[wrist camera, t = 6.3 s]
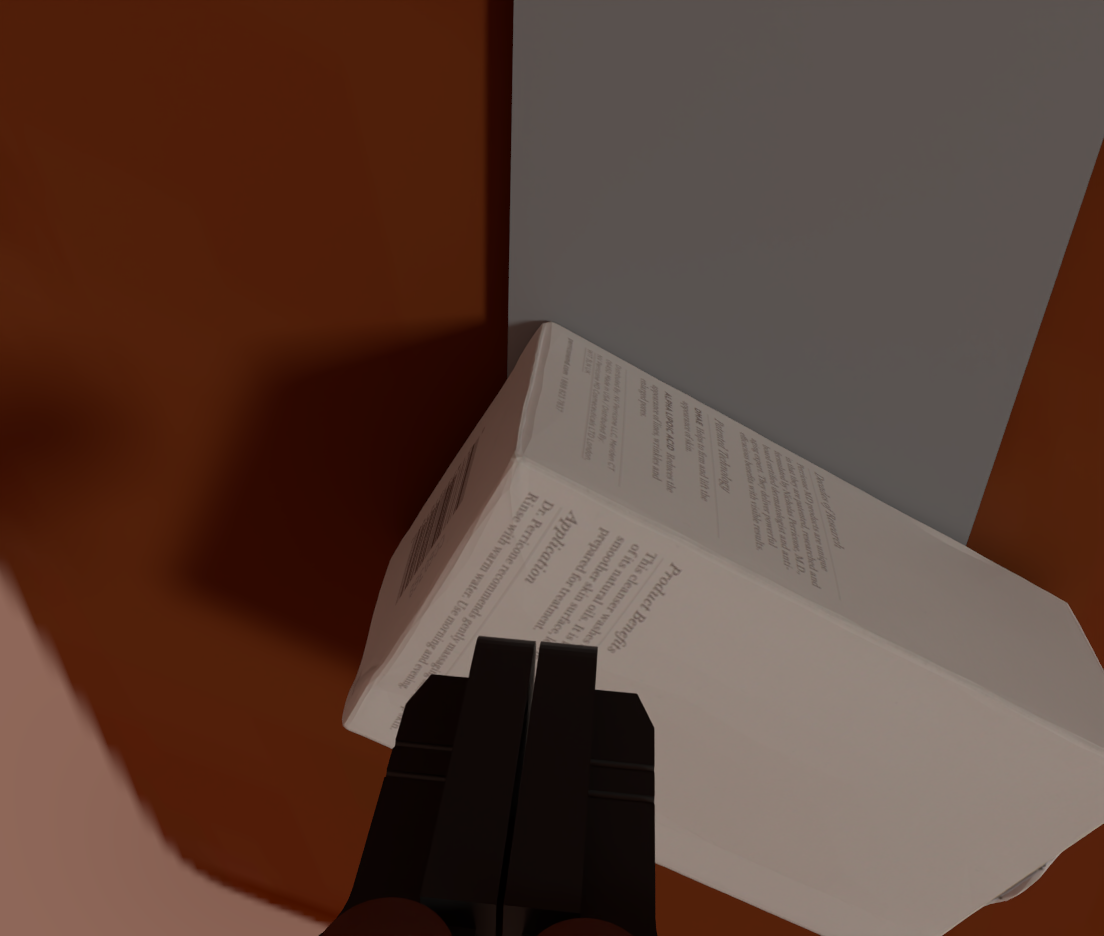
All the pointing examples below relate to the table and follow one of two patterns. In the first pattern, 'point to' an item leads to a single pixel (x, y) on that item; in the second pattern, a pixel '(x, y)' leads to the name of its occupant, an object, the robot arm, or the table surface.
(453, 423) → the table surface
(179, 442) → the table surface
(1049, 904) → the table surface
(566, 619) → the skincare box
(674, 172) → the flat gray panel
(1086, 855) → the table surface
